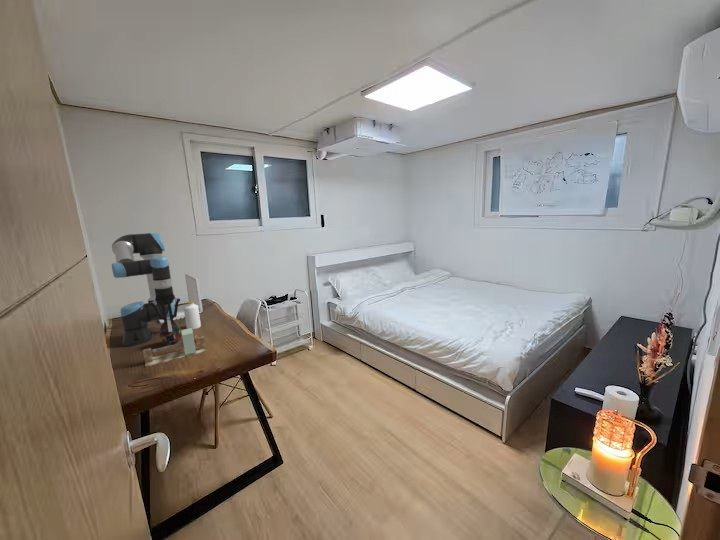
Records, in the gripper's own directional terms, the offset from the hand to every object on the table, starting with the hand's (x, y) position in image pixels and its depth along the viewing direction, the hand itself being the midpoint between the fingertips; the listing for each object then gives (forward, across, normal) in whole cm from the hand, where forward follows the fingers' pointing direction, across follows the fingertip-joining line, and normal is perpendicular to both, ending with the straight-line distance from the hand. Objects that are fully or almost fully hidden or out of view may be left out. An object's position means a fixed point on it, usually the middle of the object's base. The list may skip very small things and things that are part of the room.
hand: (170, 330), depth 151 cm
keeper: (+14, +7, -1) cm, 16 cm away
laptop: (+17, +4, +86) cm, 88 cm away
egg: (+15, -1, +19) cm, 24 cm away
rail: (+14, +1, -1) cm, 14 cm away
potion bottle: (+15, +12, +40) cm, 44 cm away
